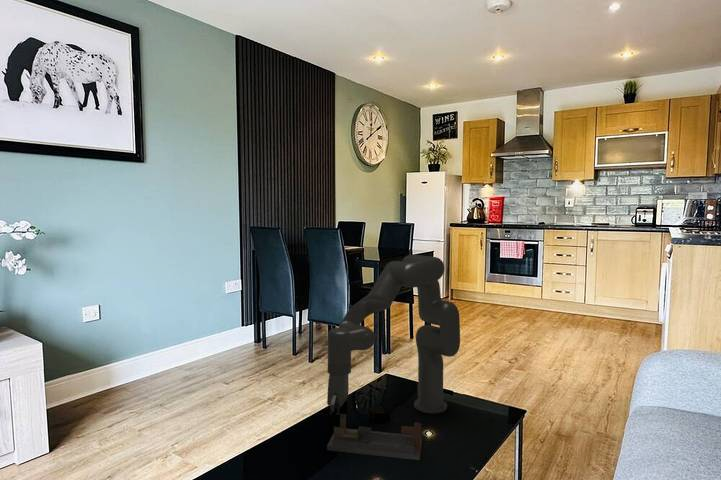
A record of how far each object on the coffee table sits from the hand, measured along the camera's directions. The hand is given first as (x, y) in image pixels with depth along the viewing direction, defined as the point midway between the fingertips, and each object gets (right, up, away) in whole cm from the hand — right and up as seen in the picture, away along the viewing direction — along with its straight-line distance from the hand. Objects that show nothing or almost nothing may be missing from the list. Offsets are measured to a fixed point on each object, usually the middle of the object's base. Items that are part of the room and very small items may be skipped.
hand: (338, 419), depth 142 cm
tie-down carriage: (+5, -6, 0) cm, 8 cm away
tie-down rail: (+12, -8, -2) cm, 14 cm away
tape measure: (+14, -7, +18) cm, 24 cm away
